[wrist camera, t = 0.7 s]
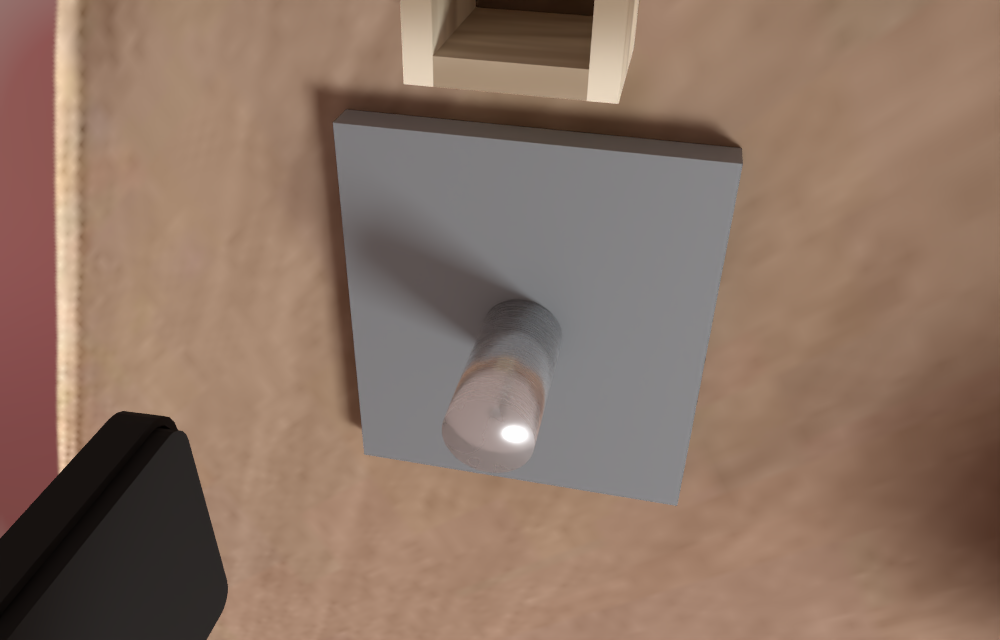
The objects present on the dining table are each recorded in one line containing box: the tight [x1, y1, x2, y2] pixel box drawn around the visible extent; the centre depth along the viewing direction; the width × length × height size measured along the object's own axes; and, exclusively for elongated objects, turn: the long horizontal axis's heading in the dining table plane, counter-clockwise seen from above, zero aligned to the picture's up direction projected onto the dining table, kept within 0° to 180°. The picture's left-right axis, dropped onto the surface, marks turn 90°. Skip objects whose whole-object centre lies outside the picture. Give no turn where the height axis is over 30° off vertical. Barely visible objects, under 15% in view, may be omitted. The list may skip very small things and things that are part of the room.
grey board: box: [333, 109, 743, 506], centre depth 39 cm, size 18×16×2 cm
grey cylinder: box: [442, 299, 562, 473], centre depth 36 cm, size 4×4×7 cm
